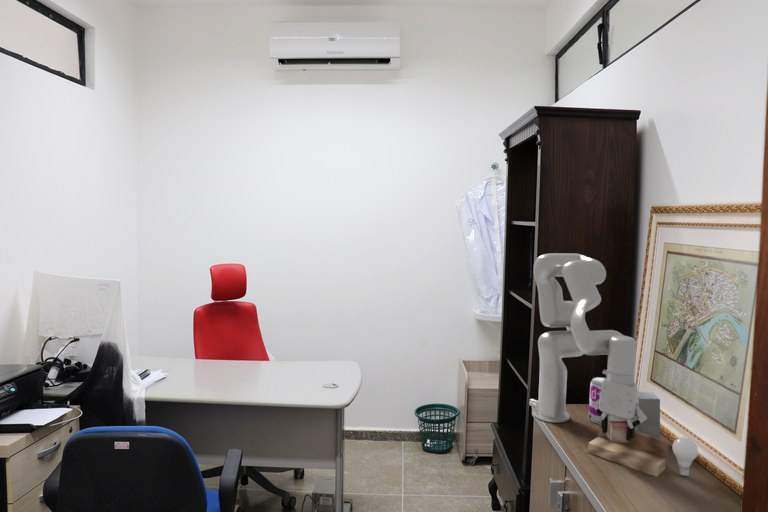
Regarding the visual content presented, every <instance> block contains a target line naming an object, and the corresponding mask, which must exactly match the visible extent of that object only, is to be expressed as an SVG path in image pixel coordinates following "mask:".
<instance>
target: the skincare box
mask: <svg viewBox="0 0 768 512" xmlns="http://www.w3.org/2000/svg"><path fill="white" fill-rule="evenodd" d="M638 405H639V408H640V410H641V411H642V412H643V413H644V414H645V416H646V417H647V419H646V420H645V421H643V422H642V423H640V424H639V425H637V426H635V431H638V432H641V433H644V434H648V435H651V436H654V437H657V438H661V399H660V398H659V397H658V396H657V395H656V394H655V393H654V392H653V391H638ZM634 418H635V421H636V420H638V419H639V416H638V415H637V416H634Z"/></svg>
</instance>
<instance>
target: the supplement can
mask: <svg viewBox="0 0 768 512" xmlns="http://www.w3.org/2000/svg"><path fill="white" fill-rule="evenodd" d="M604 379H606V377H600V376H599V377H598V376H596V377H593V378H592V379H591V381H590V385H589V400H588V402H589V404H588V419H589V420H590V421H591V422H592V423H595V424H598V425H599V421H601V420H602V419H601V418H600V416H599V414H598V413H597V411H596V410H595V408H594V407H593V405H592V404H593V403H594V402H596V401H597V400H599V399H600V394H601V388H602V384H603V381H604Z"/></svg>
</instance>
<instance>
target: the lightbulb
mask: <svg viewBox="0 0 768 512" xmlns="http://www.w3.org/2000/svg"><path fill="white" fill-rule="evenodd" d="M671 446H672V448H671V449H672V453H673V454H674V456H675V457H676V461H677V467H678V469H677V471H678V472H677V473H678V474H679V475H680V476H682V477H688V476H689V474H690V467H691V465H692V463H693V461H694V460H695V459H696V458H697V457H698V455H699V449H698V445H697V444H696V442H695V441H694V440H692V439H690V438H689V437H685V436H684V437H678V438H676V439H674V441H672V445H671Z"/></svg>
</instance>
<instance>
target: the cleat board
mask: <svg viewBox="0 0 768 512" xmlns="http://www.w3.org/2000/svg"><path fill="white" fill-rule="evenodd" d="M601 426H602V420H601V421H599V424H598V433H597V434H598V435H597V437H595V438H594V439H592V440H591V441H589V442H588V445H587V453H588V454H592V455H594V456H597V457H599V458H603V459H605V460H608V461H612V462H614V463H616V462H617V464H620V465H622V466H625V467H628V468H631V469H632V470H633V469H634V470H637V471H639V472H642V473H645V474H647V475H651V476H653V477H656V478H658V477H659V476H660V474H662V473H663V472H665V470H666V469H667V468H668V459H669V456H668V455H669V443H670V442H669V440H668V439H667V440H666V439H665V438H664V439H663V438H661V437H660V438H657V437H654V436H651V435H648V434H644V433H641V432H638V431H635V432H634V438H632V439H631V440H630V441H628V442H616V441H611V440H610V439H609V438H608V437H607V432H606V433H602V430H603V429H602V428H601Z"/></svg>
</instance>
